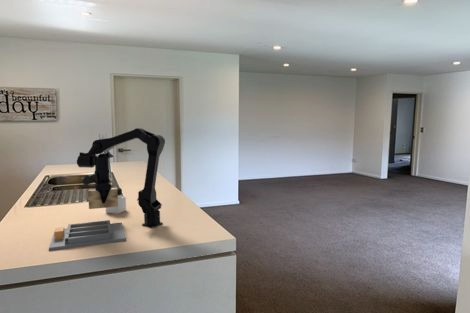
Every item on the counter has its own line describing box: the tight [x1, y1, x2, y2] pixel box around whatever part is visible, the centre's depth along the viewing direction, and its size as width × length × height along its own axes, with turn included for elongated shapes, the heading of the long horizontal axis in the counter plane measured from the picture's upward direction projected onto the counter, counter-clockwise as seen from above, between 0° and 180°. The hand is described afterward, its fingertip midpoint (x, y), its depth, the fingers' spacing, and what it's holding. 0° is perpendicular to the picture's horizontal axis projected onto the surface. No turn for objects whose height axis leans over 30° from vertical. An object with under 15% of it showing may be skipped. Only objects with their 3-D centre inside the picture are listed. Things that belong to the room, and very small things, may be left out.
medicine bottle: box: [105, 187, 127, 215], centre depth 169 cm, size 7×7×12 cm
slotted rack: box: [48, 219, 127, 251], centre depth 133 cm, size 26×22×4 cm
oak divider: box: [87, 187, 118, 210], centre depth 150 cm, size 12×3×8 cm, turn 113°
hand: (103, 202), depth 150 cm, fingers closed on oak divider, 3 cm apart
